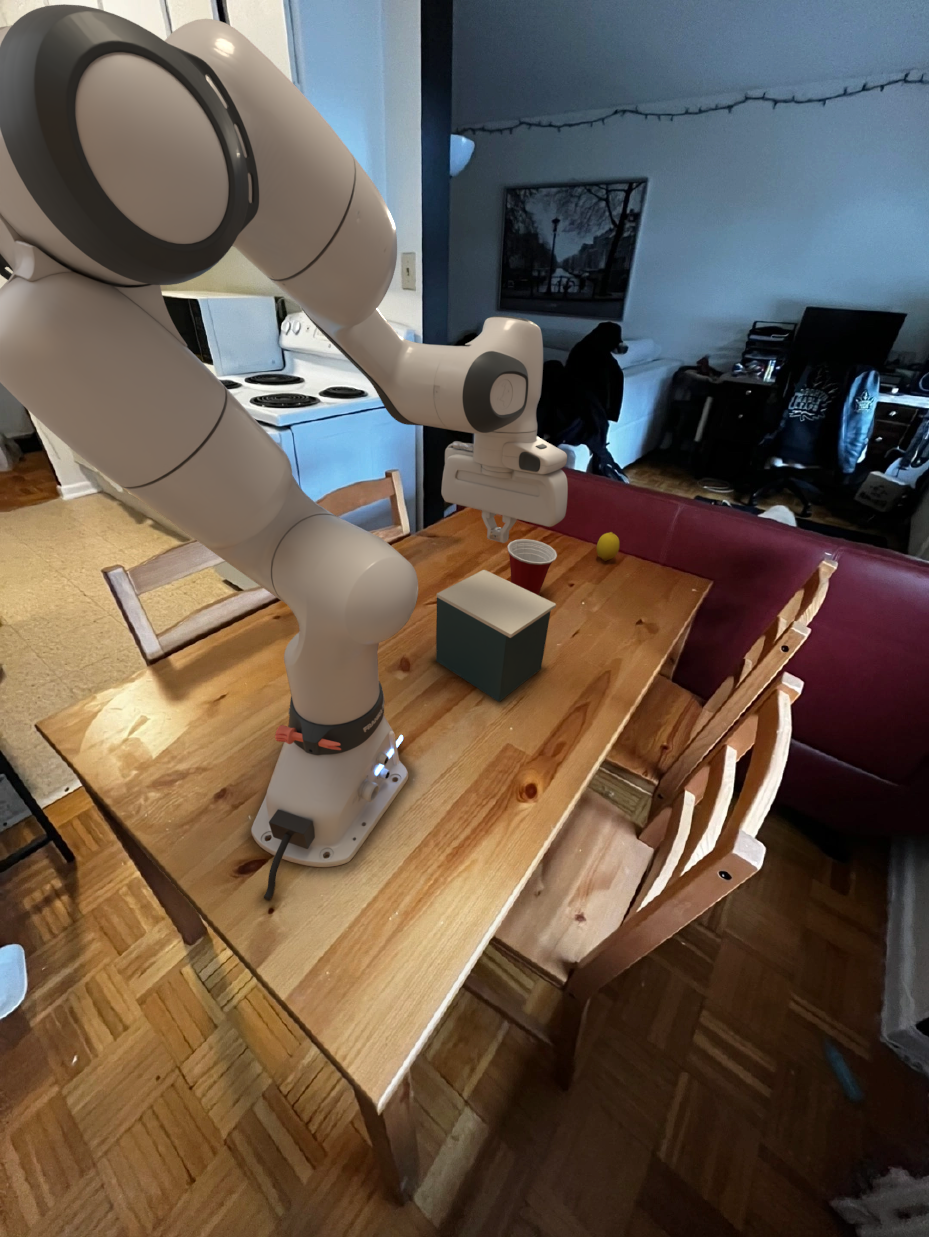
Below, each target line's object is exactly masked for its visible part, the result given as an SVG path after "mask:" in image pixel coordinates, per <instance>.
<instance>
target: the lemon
mask: <svg viewBox="0 0 929 1237" xmlns="http://www.w3.org/2000/svg"><path fill="white" fill-rule="evenodd" d="M619 551H620V539H619V537H618V536H617V535H616V534H615V533H613V532H612V531H609V532H606V533H603V534H602V535H601V536H600V537H599V539H598V540H597V544H596V553H597V556H598V557H599V558H600V559H602V560H603V561H604V562H607V561H610V560H612V559H614V558H615V557H616V556H617V555H618V553H619Z"/></svg>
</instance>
